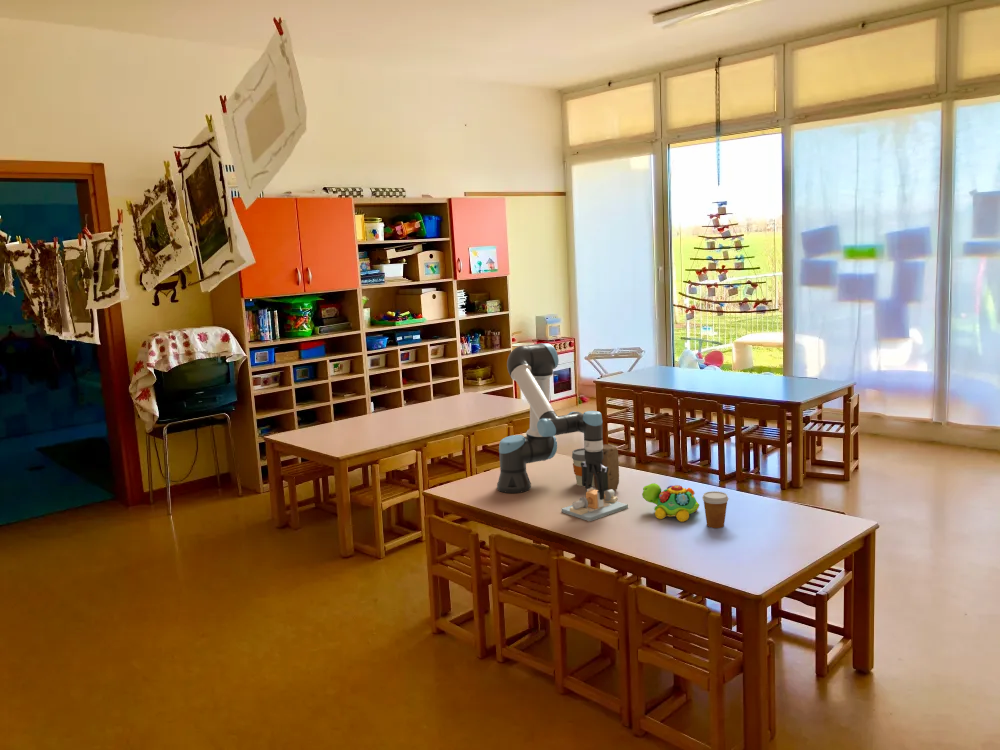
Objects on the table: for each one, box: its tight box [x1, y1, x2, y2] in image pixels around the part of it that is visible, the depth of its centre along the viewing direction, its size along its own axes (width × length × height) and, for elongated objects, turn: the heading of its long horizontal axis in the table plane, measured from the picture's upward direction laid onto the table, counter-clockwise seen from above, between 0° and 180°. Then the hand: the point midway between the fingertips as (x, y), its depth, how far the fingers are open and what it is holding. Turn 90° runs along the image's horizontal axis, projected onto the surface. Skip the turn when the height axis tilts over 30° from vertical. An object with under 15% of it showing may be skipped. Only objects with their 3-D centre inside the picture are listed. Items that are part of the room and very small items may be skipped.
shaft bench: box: [561, 489, 629, 522], centre depth 324 cm, size 16×23×7 cm
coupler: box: [585, 488, 606, 509], centre depth 323 cm, size 5×10×6 cm, turn 129°
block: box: [593, 443, 620, 492], centre depth 347 cm, size 11×8×20 cm
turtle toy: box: [641, 482, 700, 523], centre depth 315 cm, size 17×23×12 cm
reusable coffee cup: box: [571, 447, 595, 487], centre depth 359 cm, size 13×13×15 cm
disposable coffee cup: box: [702, 490, 730, 529], centre depth 300 cm, size 10×10×12 cm
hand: (595, 505), depth 324 cm, fingers closed on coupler, 5 cm apart
